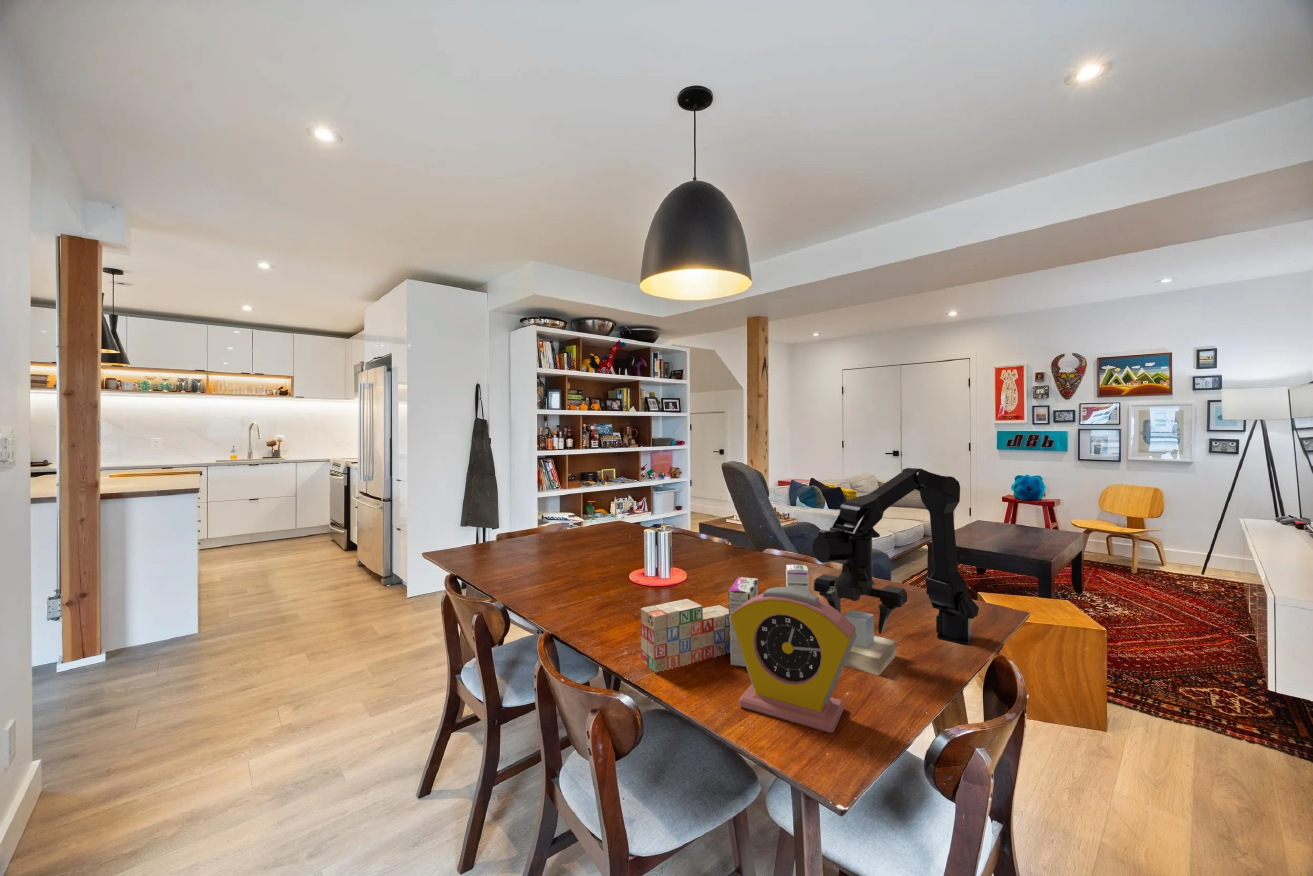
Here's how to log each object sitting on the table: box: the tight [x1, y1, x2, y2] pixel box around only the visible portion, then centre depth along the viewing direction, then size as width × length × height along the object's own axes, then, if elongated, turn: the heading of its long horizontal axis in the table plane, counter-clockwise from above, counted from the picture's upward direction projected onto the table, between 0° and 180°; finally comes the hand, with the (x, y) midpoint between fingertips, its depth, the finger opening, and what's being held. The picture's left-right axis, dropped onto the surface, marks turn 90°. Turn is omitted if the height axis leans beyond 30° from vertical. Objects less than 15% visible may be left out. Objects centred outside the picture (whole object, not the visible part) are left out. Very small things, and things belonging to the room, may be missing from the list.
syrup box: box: [785, 564, 810, 592], centre depth 134 cm, size 6×6×14 cm
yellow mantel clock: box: [730, 586, 857, 734], centre depth 91 cm, size 22×9×22 cm, turn 58°
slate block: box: [843, 609, 875, 649], centre depth 112 cm, size 5×5×6 cm
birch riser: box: [844, 635, 897, 677], centre depth 112 cm, size 12×12×4 cm
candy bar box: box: [728, 576, 759, 668], centre depth 113 cm, size 11×5×16 cm, turn 159°
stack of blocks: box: [640, 598, 730, 673], centre depth 113 cm, size 21×6×12 cm, turn 119°
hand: (858, 628), depth 112 cm, fingers open, 9 cm apart
